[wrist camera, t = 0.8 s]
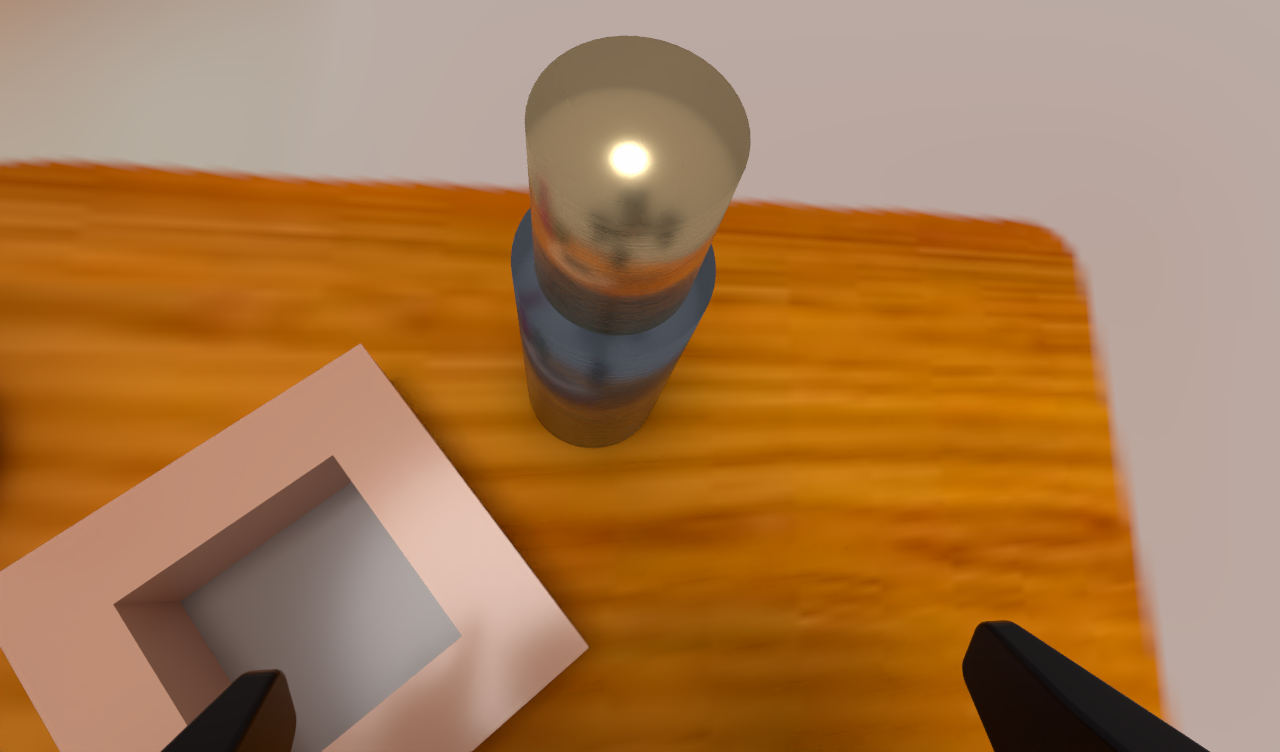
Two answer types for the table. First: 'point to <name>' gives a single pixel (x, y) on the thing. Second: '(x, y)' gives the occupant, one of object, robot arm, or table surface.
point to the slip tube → (620, 227)
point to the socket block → (290, 588)
